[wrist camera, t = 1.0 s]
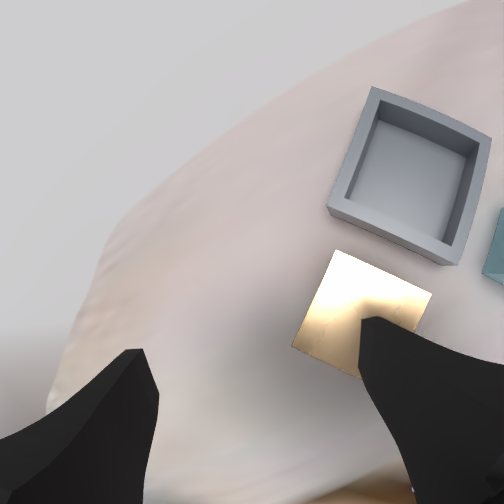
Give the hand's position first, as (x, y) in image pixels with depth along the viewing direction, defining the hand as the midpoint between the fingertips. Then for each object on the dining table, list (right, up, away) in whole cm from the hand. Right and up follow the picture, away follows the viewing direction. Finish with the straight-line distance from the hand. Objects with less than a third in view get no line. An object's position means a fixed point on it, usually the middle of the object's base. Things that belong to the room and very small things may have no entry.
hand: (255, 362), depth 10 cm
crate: (+11, +8, +9) cm, 16 cm away
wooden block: (+7, 0, +10) cm, 13 cm away
